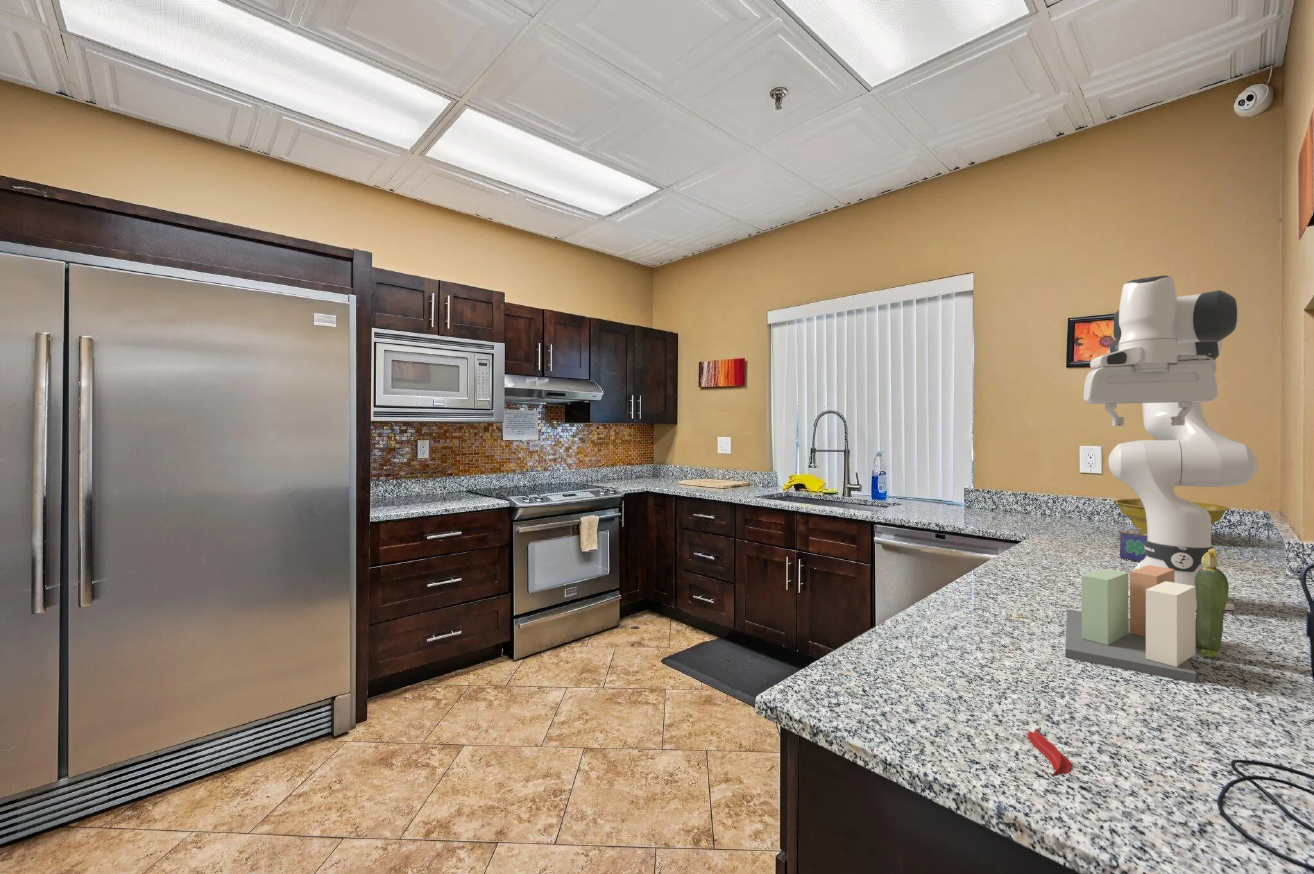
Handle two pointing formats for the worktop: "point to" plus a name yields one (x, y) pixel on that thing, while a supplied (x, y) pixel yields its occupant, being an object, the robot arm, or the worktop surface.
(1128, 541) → the flask
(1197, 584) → the vegetable
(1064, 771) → the cayenne pepper
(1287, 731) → the worktop surface
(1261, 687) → the worktop surface
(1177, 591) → the cream block
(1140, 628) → the terracotta block
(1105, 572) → the sage green block
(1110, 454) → the robot arm
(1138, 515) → the planter bowl
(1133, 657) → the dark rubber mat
